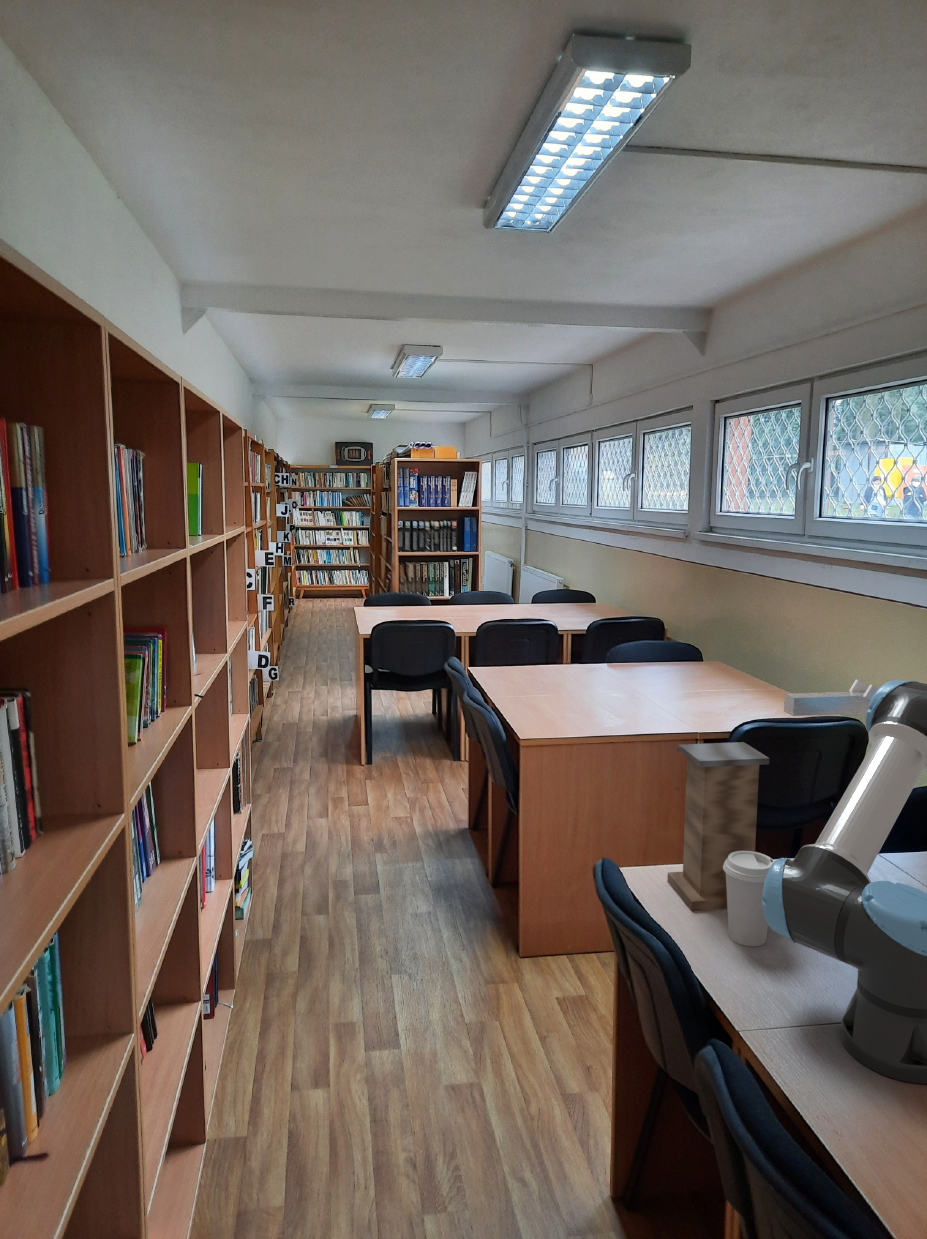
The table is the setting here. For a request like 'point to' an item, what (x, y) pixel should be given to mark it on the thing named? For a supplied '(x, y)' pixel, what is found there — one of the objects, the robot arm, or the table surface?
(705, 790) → the post
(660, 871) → the table surface
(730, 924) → the coffee cup
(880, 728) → the robot arm
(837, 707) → the wood grain block
